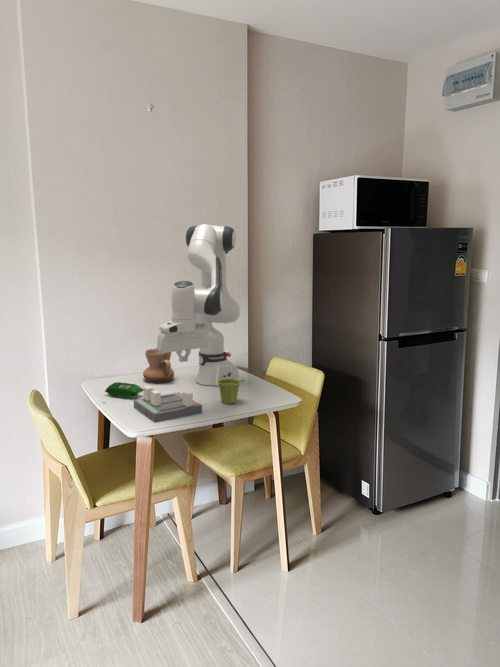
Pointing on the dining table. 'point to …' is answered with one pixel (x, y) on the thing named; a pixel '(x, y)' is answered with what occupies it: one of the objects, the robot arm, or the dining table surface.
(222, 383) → the plant pot
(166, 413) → the panel
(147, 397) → the inner breaker
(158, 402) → the block
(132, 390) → the snack package
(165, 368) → the ceramic jug
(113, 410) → the dining table surface
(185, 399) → the block
